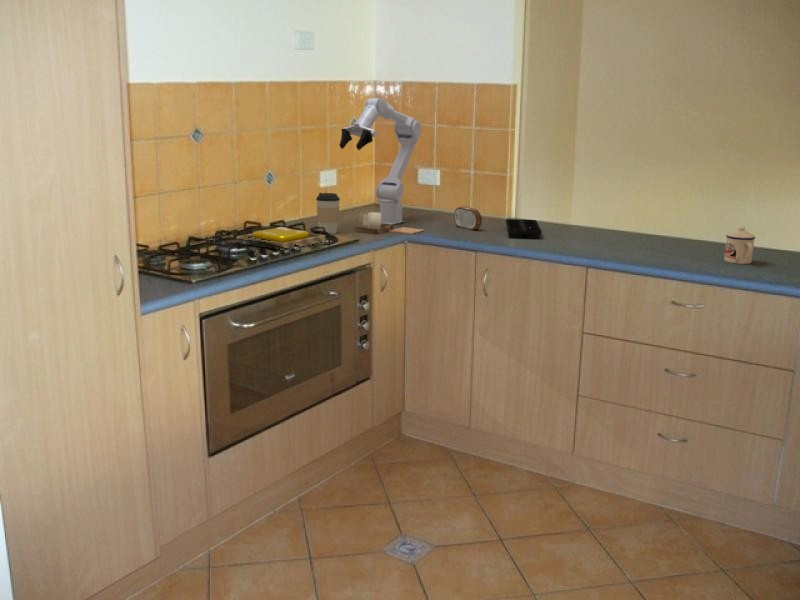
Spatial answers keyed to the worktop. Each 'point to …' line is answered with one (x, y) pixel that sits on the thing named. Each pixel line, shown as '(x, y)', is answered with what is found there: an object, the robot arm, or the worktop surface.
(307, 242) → the corral
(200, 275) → the worktop surface
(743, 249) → the teacup with lid
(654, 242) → the worktop surface
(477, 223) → the brown speaker
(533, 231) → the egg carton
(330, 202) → the coffee cup
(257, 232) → the element tile
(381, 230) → the holder
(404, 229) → the plate
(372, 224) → the jug
